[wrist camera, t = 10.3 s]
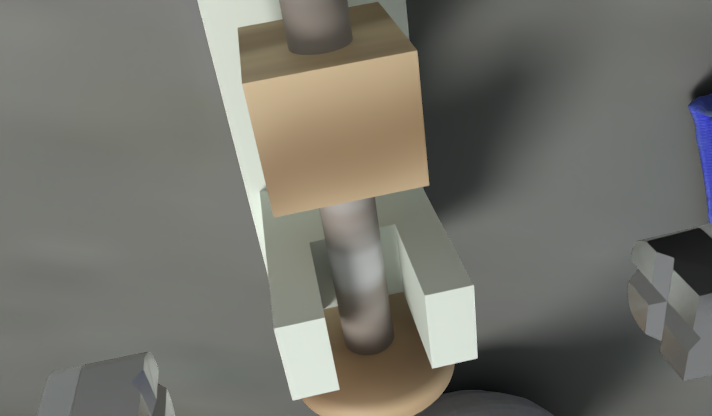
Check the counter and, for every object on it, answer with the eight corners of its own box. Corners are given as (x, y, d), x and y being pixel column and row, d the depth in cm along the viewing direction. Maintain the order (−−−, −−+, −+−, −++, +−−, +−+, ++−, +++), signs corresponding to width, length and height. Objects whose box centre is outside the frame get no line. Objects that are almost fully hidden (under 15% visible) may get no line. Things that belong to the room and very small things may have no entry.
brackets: (136, -248, 20) (83, -281, 12) (373, -284, 20) (467, -337, 12) (268, 272, 30) (286, 436, 22) (424, 239, 30) (494, 387, 22)
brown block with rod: (132, -293, 17) (94, -334, 12) (369, -328, 17) (432, -382, 12) (286, 326, 27) (302, 444, 22) (430, 294, 28) (477, 403, 23)
